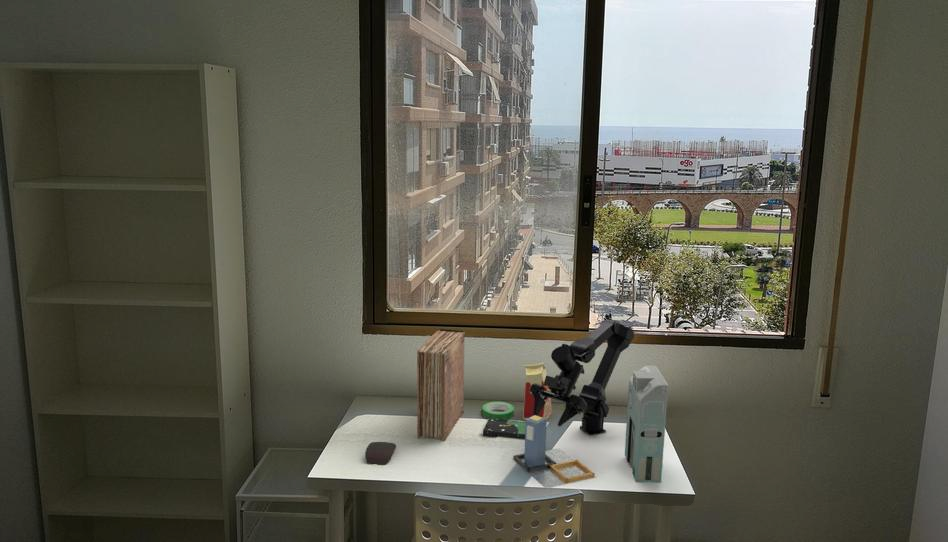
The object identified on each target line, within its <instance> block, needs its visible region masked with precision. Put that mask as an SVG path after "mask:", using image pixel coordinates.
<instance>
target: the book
mask: <svg viewBox="0 0 948 542" xmlns="http://www.w3.org/2000/svg"><path fill="white" fill-rule="evenodd" d="M416 355H417V359H416V360H417V363H416V364H417V365H416V371H417V372H416V374H417V375H416V377H417V379H416V381H417V383H416V385H417V387H416V388H417V391H416V392H417V394H416V396H417V397H416V400H417V402H416V405H417V406H416V408H417V409H416V412H417V413H416V416H417V417H416V418H417V419H416V420H417V421H416V422H417V425H416V426H417V427H416V428H417V430H416V431H417V432H416V433H417V439H420V438H421V437H422V438H429V439H430V438H431V439H437V440H438V439H439V440H442V442H445V441H446V440H447V438H448V437H449V435H450V434H451V433H452V432H453V430H454V428H455V426H456V425H457V424H458V422H459V420H460V419H459V418H461V417H462V416H463V414H464V411H465V409H464V407H465V394H464V392H465V330H453V329H445V328H444V329H443V328H438V330H436V331H435V332H434V334H432V335H431V336H430V337H429V339H428V340H426V341H425V342H424V343H423V344H422V345H421V346H420V347H419V348H418V349H417V353H416ZM457 421H458V422H457ZM455 424H456V425H455Z"/></svg>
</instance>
